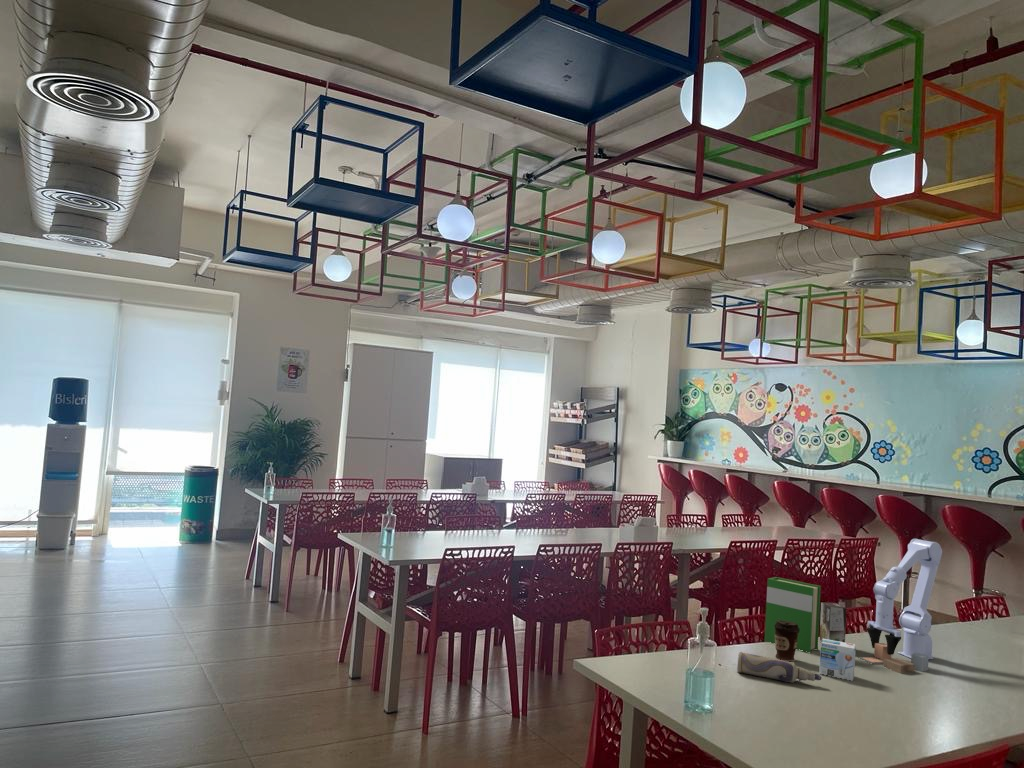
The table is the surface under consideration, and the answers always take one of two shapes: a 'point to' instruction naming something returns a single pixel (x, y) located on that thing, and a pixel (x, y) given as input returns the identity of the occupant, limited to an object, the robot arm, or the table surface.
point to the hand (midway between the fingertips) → (882, 651)
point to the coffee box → (832, 622)
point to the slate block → (920, 661)
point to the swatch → (872, 660)
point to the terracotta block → (881, 651)
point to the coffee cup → (786, 639)
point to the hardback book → (793, 610)
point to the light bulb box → (837, 659)
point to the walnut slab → (899, 665)
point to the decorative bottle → (773, 668)
